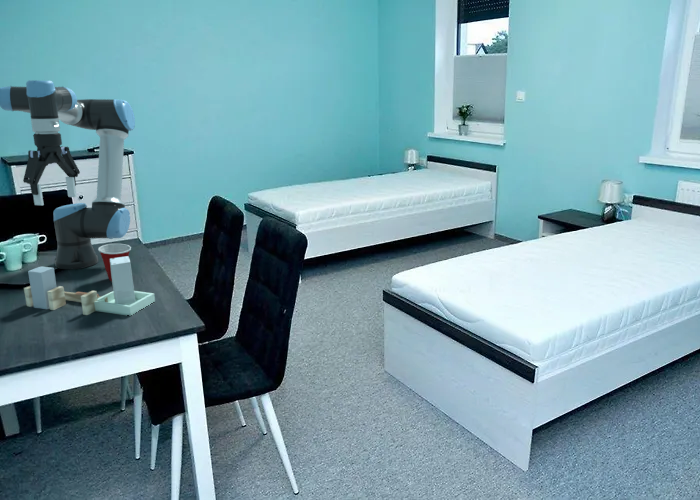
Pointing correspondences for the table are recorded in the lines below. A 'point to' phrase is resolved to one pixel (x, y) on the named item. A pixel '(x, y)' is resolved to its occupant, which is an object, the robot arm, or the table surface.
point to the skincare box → (122, 280)
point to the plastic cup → (113, 254)
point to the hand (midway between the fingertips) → (56, 200)
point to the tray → (111, 307)
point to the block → (41, 285)
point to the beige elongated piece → (67, 298)
